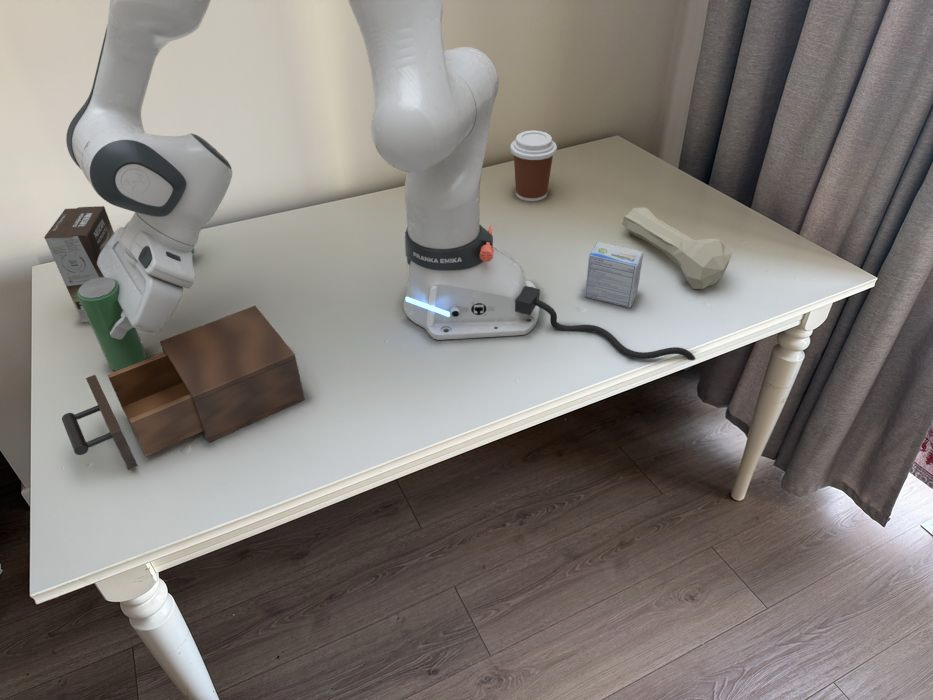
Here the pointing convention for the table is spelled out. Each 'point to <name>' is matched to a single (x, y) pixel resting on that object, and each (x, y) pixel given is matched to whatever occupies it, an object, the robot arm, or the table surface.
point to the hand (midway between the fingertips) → (107, 324)
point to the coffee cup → (532, 164)
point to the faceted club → (681, 248)
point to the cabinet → (235, 371)
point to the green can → (101, 314)
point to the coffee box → (79, 247)
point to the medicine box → (613, 274)
